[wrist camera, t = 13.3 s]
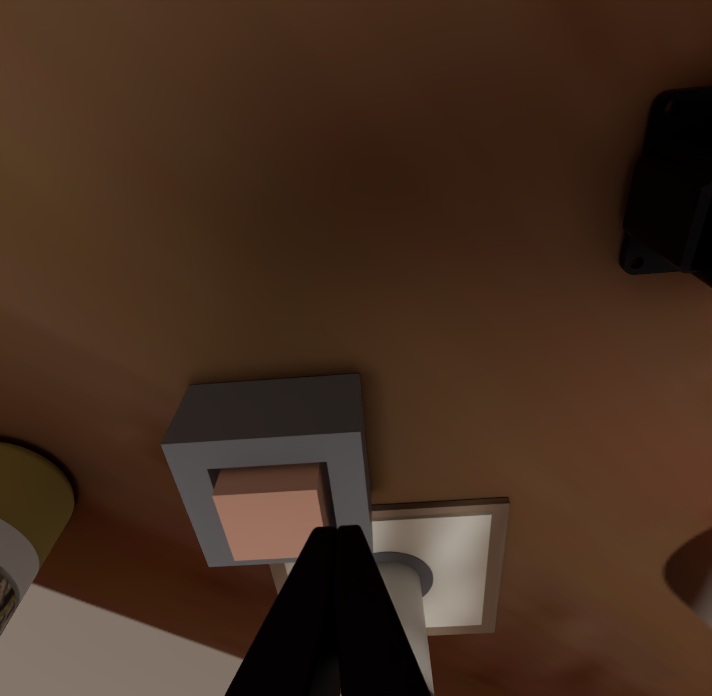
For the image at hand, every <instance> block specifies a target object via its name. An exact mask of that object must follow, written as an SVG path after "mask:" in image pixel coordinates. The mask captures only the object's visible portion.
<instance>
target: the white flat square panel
mask: <svg viewBox="0 0 712 696" xmlns="http://www.w3.org/2000/svg"><path fill="white" fill-rule="evenodd" d="M509 507H510V502H509V499H508V498H492V499H475V500H458V501H440V502H423V503H406V504H389V505H372V532H373V557H374V559H375V561H376V563H379V562H398V563H402V564H405V565H408V566H410V567H412V568H413V569H414V570H416V572H417V573H418V574H419V577H420V582H421V591H422V599H423V607H424V615H425V624H426V632H427V636H430V635H452V634H473V633H494V632H495V623H496V615H497V607H498V598H499V590H500V582H501V574H502V565H503V557H504V549H505V540H506V532H507V524H508V516H509ZM294 564H295V562H293V563H274V564H269V565H270V569H271V572H272V576H273V579H274V583H275V586H276V590H277V593H278V594H279V592H280V590H281V588H282V586H283V584H284V582H285V581H286V579H287V577H288V575H289V573H290V571H291V569H292V567H293V565H294Z"/></svg>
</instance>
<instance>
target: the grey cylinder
mask: <svg viewBox="0 0 712 696" xmlns="http://www.w3.org/2000/svg"><path fill="white" fill-rule="evenodd" d="M376 564H377V566H378V569H379V571H380V573H381V576H382V578H383V581H384V583H385V585H386V588H387V590H388V593H389V595H390V597H391V600H392V602H393V605H394V607H395V609H396V612H397V614H398V617H399V619H400V621H401V624H402V626H403V629H404V631H405V633H406V636H407V638H408V641H409V643H410V645H411V648H412V650H413V653H414V655H415V657H416V660H417V662H418V665H419V667H420V669H421V672H422V674H423V677H424V679H425V681H426V684H427V686H428V689H429V691H430V693H431V696H435V695H434V689H433V681H432V673H431V665H430V656H429V648H428V640H427V632H426V624H425V615H424V607H423V599H422V591H421V582H420V577H419V574H418V573H417V572H416V570H414V569H413V568H412V567H410V566H408V565H405V564H402V563H398V562H379V563H376Z"/></svg>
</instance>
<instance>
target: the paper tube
mask: <svg viewBox="0 0 712 696" xmlns="http://www.w3.org/2000/svg"><path fill="white" fill-rule="evenodd" d="M73 510H74V494H73V490H72V486H71V484H70V482H69V480H68V479H67V477H66V476H65V475H64V473H63V472H62V471H61V470H60V469H59V468H58V467H57V466H56V465H54V464H53V463H52V462H50V461H49V460H48V459H46V458H44V457H43V456H41V455H39V454H37V453H35V452H33V451H31V450H29V449H26V448H24V447H21V446H17V445H14V444H10V443H4V442H0V635H1V634H2V632H3V630H4V629H5V627H6V625H7V624H8V622H9V620H10V619H11V617H12V615H13V614H14V612H15V610H16V608H17V607H18V605H19V603H20V602H21V600H22V598H23V596H24V595H25V593H26V592H27V590H28V588H29V587H30V585H31V583H32V582H33V580H34V578H35V577H36V575H37V573H38V571H39V569H40V567H41V566H42V564H43V562H44V561H45V559H46V557H47V556H48V554H49V552H50V550H51V549H52V547H53V545H54V544H55V542H56V540H57V539H58V537H59V535H60V534H61V532H62V530H63V529H64V527H65V525H66V524H67V522H68V520H69V519H70V517H71V515H72V512H73Z"/></svg>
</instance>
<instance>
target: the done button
mask: <svg viewBox="0 0 712 696" xmlns="http://www.w3.org/2000/svg"><path fill="white" fill-rule="evenodd" d="M212 497H213V500H214V503H215V506H216V509H217V512H218V514H219V517H220V520H221V523H222V526H223V529H224V532H225V535H226V538H227V541H228V544H229V546H230V549H231V552H232V555H233V558H234V561H242V560H260V559H279V558H298V556H299V554H300V552H301V550H302V549H303V547H304V545H305V543H306V541H307V539H308V537H309V535H310V533H311V532H312V530H313V529H314V528H315V527H322V526H330V516H331V497H332V492H331V485H330V479H329V473H328V466H327V462H315V463H299V464H283V465H267V466H250V467H234V468H221V469H220V472H219V476H218V479H217V482H216V485H215V488H214V492H213V495H212Z"/></svg>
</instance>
